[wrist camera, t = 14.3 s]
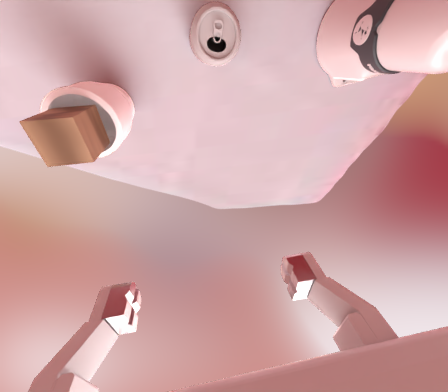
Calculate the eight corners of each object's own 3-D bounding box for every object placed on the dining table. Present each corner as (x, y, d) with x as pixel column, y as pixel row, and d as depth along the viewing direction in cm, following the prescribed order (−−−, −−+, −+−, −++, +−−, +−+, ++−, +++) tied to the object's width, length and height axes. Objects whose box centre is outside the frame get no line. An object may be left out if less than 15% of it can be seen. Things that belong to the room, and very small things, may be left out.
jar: (92, 129, 43) (56, 158, 31) (75, 74, 37) (24, 83, 25) (143, 131, 45) (128, 159, 33) (135, 79, 39) (114, 89, 27)
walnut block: (95, 104, 28) (72, 117, 22) (110, 142, 31) (94, 161, 25) (53, 107, 27) (19, 121, 22) (72, 146, 30) (47, 166, 25)
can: (188, 61, 39) (190, 63, 29) (189, 10, 35) (191, -7, 25) (226, 66, 40) (239, 70, 31) (230, 18, 36) (248, 4, 27)
